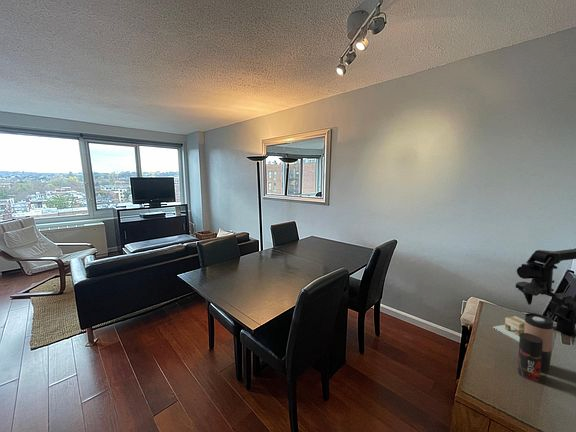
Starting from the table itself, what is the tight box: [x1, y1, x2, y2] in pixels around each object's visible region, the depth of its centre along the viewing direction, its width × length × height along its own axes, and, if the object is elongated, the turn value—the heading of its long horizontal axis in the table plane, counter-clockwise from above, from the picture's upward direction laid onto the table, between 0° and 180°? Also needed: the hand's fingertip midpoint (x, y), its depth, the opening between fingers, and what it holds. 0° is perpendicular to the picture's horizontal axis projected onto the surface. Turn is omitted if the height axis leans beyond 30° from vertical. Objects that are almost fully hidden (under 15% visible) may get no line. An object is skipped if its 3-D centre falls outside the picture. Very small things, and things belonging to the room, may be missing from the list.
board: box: [492, 324, 523, 343], centre depth 113 cm, size 12×12×1 cm
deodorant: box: [517, 333, 543, 382], centre depth 87 cm, size 6×6×15 cm
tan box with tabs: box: [504, 315, 525, 336], centre depth 113 cm, size 6×6×6 cm
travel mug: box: [524, 312, 554, 373], centre depth 91 cm, size 8×8×20 cm
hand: (540, 308), depth 112 cm, fingers open, 9 cm apart
